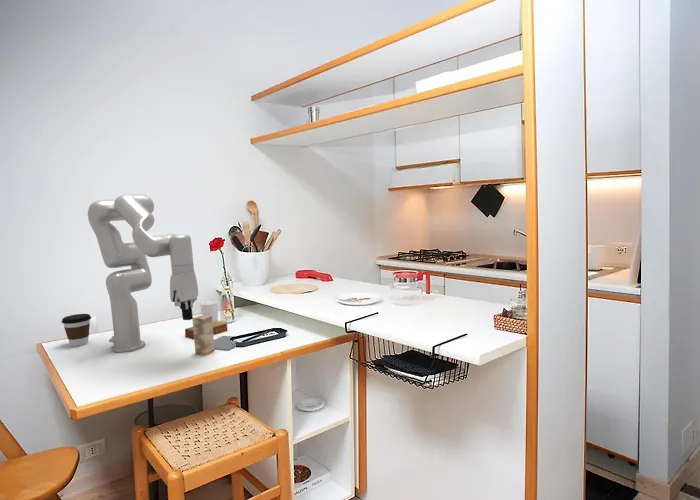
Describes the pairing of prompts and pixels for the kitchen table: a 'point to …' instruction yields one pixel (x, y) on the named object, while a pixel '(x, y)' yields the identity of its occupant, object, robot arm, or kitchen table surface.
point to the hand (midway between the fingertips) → (187, 319)
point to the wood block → (203, 334)
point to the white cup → (210, 309)
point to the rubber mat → (223, 343)
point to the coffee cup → (77, 328)
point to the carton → (217, 328)
